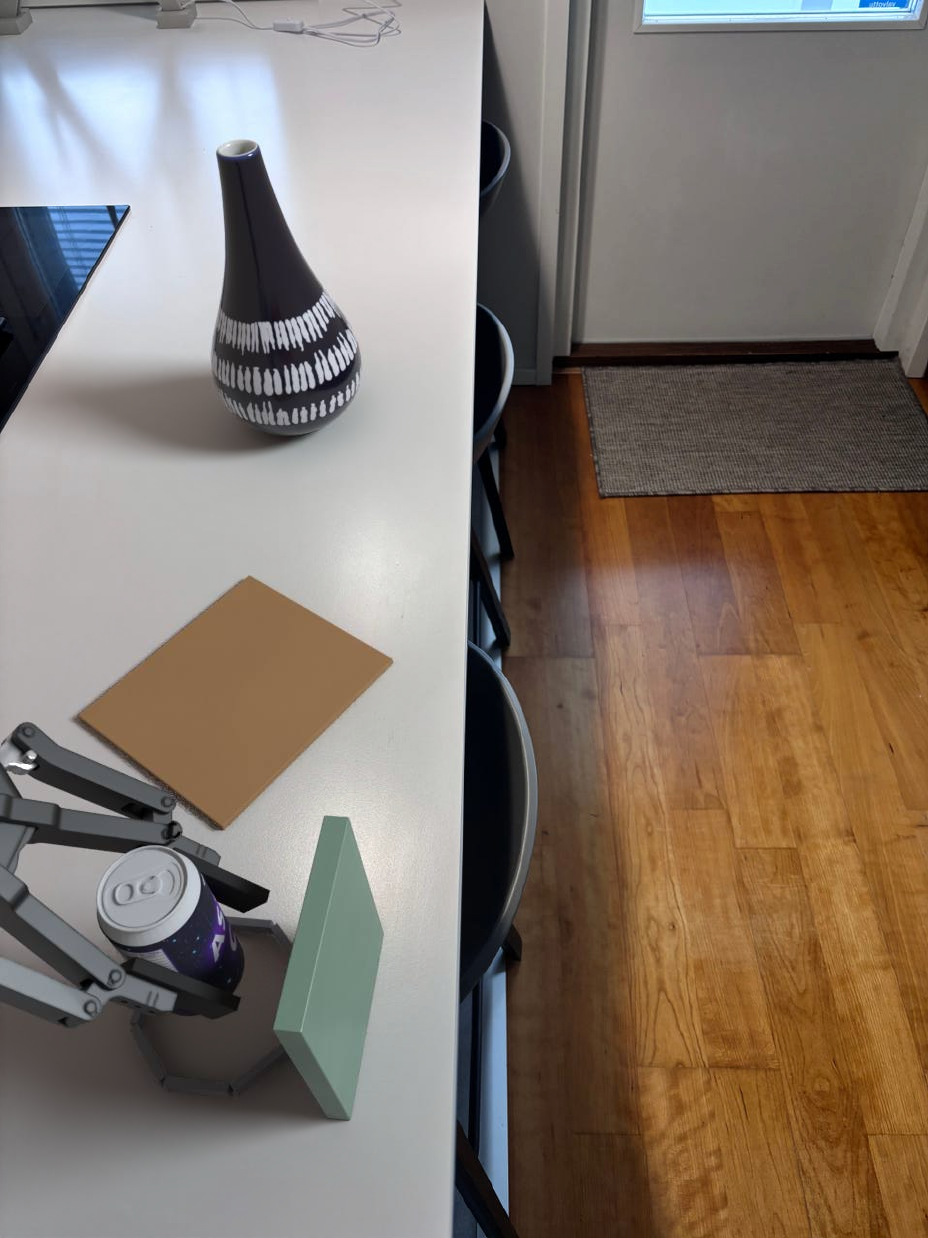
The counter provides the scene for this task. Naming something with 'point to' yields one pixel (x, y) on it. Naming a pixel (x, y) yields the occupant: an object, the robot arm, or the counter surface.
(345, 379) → the vase
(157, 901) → the beverage can
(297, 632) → the cork mat
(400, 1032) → the counter surface
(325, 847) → the green panel with ring
